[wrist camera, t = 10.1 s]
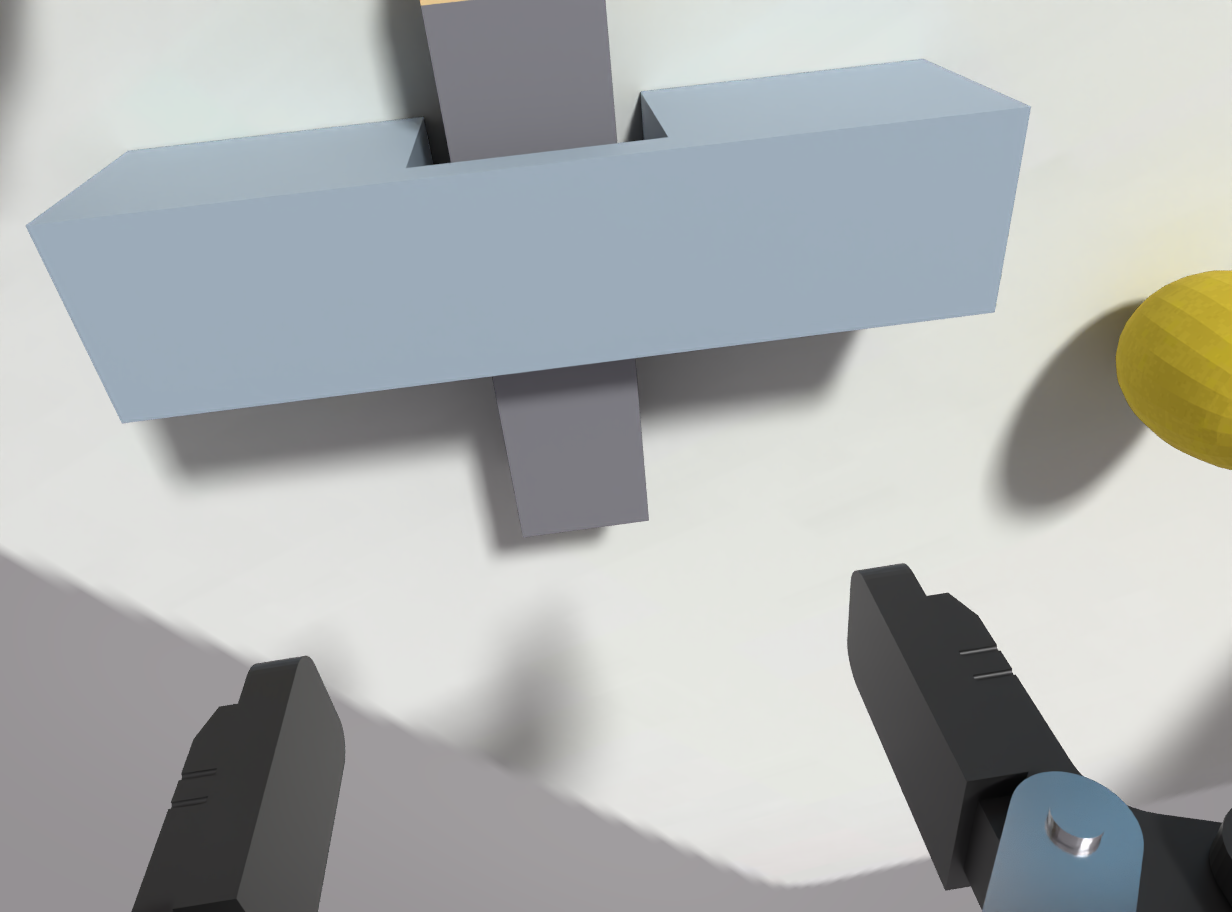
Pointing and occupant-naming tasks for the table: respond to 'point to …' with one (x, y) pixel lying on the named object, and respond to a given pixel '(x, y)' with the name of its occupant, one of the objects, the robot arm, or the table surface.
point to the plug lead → (531, 123)
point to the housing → (536, 241)
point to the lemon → (1183, 365)
